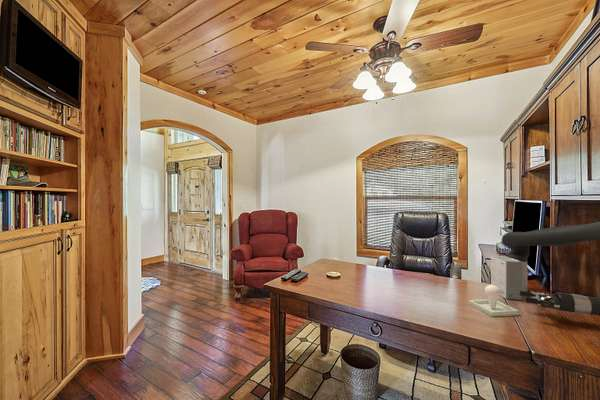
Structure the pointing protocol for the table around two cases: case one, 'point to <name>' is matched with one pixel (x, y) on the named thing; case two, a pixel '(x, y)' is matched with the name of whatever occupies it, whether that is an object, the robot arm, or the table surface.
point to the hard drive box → (507, 276)
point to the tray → (498, 311)
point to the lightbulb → (492, 295)
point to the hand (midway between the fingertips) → (522, 296)
